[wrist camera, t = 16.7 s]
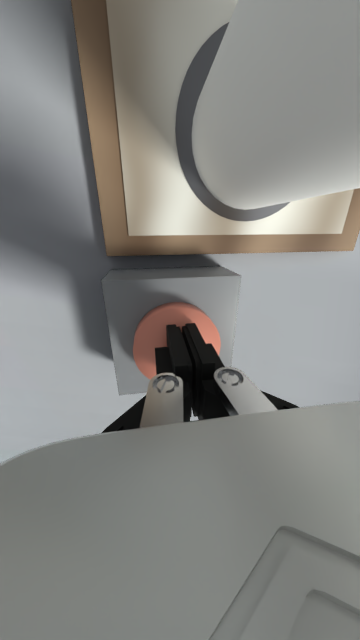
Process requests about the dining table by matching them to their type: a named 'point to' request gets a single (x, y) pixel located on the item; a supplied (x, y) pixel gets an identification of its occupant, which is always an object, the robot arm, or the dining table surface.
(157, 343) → the button
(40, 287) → the dining table surface
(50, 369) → the dining table surface
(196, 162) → the cylindrical container
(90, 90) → the sketch board
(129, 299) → the button housing
